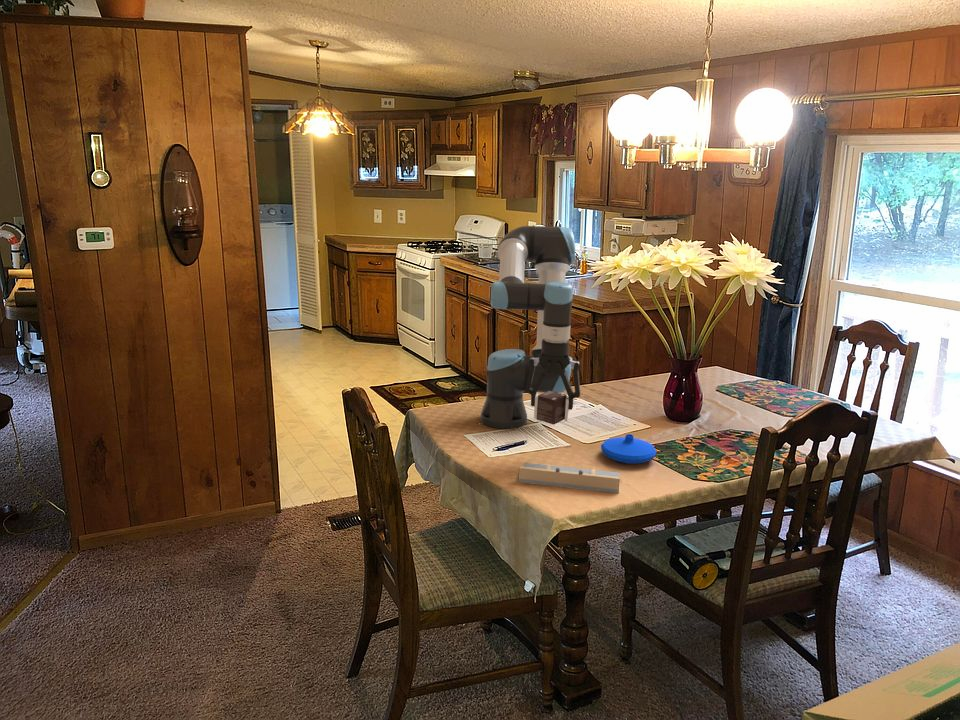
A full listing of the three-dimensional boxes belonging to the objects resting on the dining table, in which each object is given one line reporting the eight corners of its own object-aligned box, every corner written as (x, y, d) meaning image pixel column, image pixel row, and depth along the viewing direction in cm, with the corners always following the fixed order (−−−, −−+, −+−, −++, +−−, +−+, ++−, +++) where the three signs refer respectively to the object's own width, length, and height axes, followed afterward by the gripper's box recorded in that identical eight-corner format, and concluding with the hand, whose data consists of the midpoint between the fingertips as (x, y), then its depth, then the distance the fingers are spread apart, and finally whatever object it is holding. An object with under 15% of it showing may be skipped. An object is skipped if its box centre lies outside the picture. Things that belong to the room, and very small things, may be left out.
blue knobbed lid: (602, 467, 209) (604, 444, 208) (597, 446, 225) (599, 424, 223) (659, 470, 209) (662, 447, 207) (650, 449, 224) (652, 427, 222)
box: (548, 414, 214) (549, 390, 212) (566, 419, 211) (567, 394, 209) (535, 419, 210) (537, 395, 208) (553, 425, 206) (555, 400, 204)
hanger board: (524, 466, 208) (525, 450, 207) (619, 476, 204) (620, 459, 202) (518, 482, 198) (519, 465, 197) (618, 493, 193) (620, 476, 192)
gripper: (516, 340, 202) (512, 419, 208) (593, 346, 198) (587, 426, 205) (520, 333, 209) (516, 410, 216) (594, 339, 206) (589, 417, 212)
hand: (551, 418), depth 210 cm, fingers closed on box, 8 cm apart
